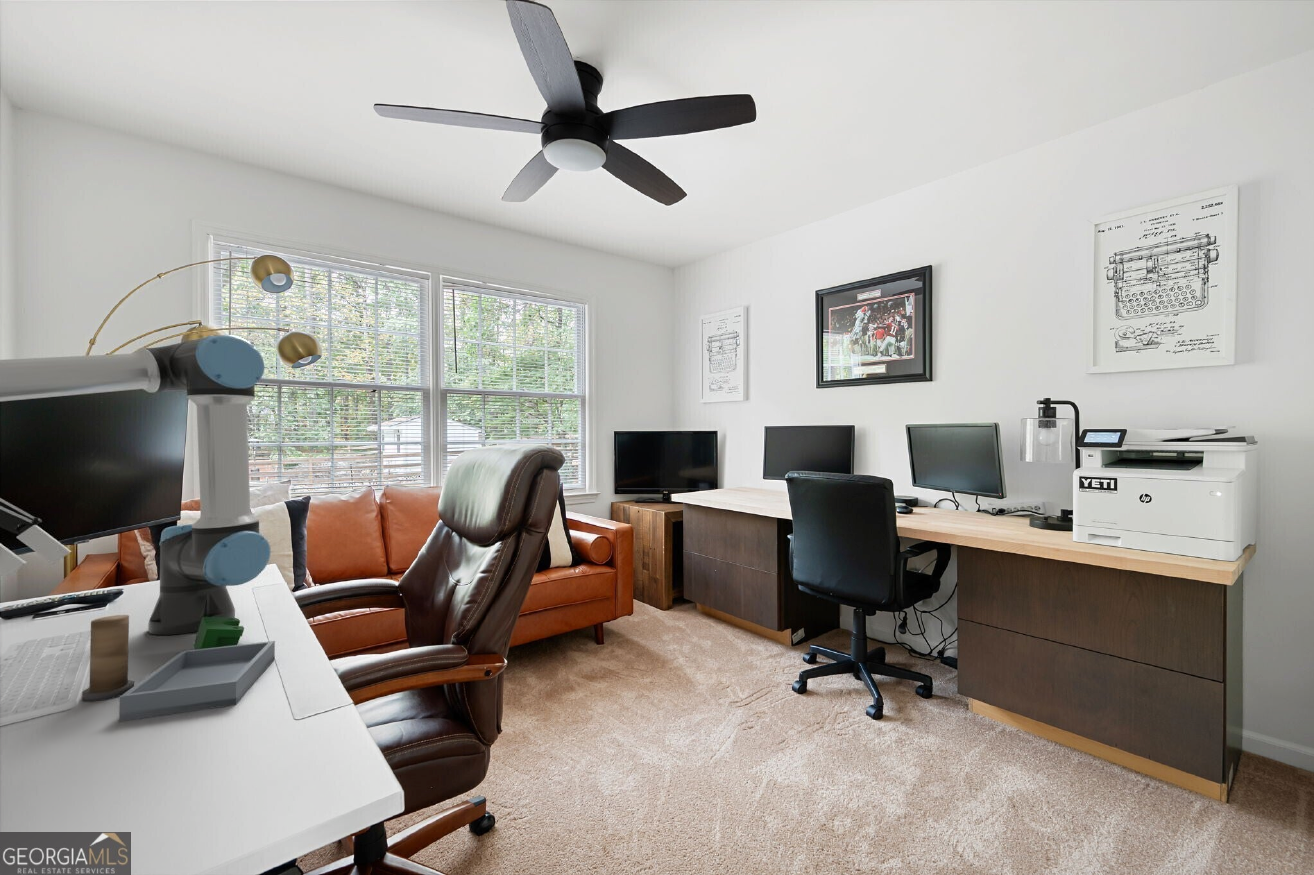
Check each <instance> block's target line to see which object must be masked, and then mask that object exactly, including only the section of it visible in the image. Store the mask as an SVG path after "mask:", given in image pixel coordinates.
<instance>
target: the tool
mask: <svg viewBox="0 0 1314 875" xmlns="http://www.w3.org/2000/svg"><path fill="white" fill-rule="evenodd" d="M129 632H130V615H128V614H117V615H110V616H103V617H100V618H95V619H93V620H91V621H90V643H89V644H90V647H89V648H90V650H89V651H90V652H89V654H90V655H89V687H88V688H86V689H85V690H83V691H82V693H81V700H82V701H83V702H86V703H92V702H101V701H105V700H110V699H114V698H115V699H116V698H118V697H120V696H122V695H123V694H124V693H126V692H127V691H128V690H130V689H131V688H132V687H134V686H135V680H134V679H129V641H130V640H129V638H130V637H129V634H130V633H129Z"/></svg>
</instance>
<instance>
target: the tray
mask: <svg viewBox="0 0 1314 875" xmlns="http://www.w3.org/2000/svg"><path fill="white" fill-rule="evenodd" d="M275 643H276V641H275V640H271V641H261V642H253V643H243V644H238V645H233V646H224V647H215V648H206V649H197V650H195V649H192V650H189V649H188V650H181V651H180V652H179V653H177V654H176V655H175V656H174V657H172V658H171V659H170V660H168V661H167V662H166V663H164V664H162V665H161V666H160V667H158V668H157V669H155V670H154V671H153V672H152V673H150V674H149V675H148V676H146V677H145V678H144V679H142V680H141V681H139V682H138V683H137V684H134V687H132V688H131V689H130V690H128V691H127V692H126V693H124V694H123V695H121V696H119V713H118V716H119V717H118V721H119V722H124V721H125V722H126V721H131V720H137V719H139V720H140V719H145V718H151V717H159V716H165V715H166V716H167V715H173V714H181V713H187V712H188V713H189V712H193V711H200V710H209V709H213V708H222V707H229V706H236V705H237V704H238V703H239V702H240V701H241V700H242V698H243V697H244V696H245V695H246V694H247V692H249V690H250V689H251V688H252V686H253V685H254V684H255V683H256V682H257V681H258V679H259V678H261V676H262V675H263V673H265V672H266V671H267V669H268V668H269V667H270V665H271V664H272V663H273V662H274V661H275V660H274V659H275V656H276V655H275V653H276V652H275V650H276V648H275V645H276V644H275ZM268 666H269V667H268Z"/></svg>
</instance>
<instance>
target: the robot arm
mask: <svg viewBox="0 0 1314 875" xmlns="http://www.w3.org/2000/svg"><path fill="white" fill-rule="evenodd" d="M264 373H265V362H264V358H263V356H262V354H261V352H260V350H258V349H257V347H256V346H254V345H253V344H252V343H251V342H250V341H248V340H246V339H245V338H242V337H240V336H238V335H232V334H212V335H208V336H206V337H202V338H198V339H197V338H196V339H191V340H186V341H182V342H181V341H180V342H178V343H175V344H174V343H173V344H169V345H164V346H158V347H143V348H142V347H141V348H138V349H136V351H135V352H134V353H118V354H97V355H96V354H95V355H93V354H92V355H78V356H77V355H75V356H74V355H71V356H53V357H31V358H28V357H27V358H12V359H8V358H6V359H0V402H8V401H9V402H10V401H20V400H21V401H22V400H32V399H43V398H52V397H54V398H55V397H63V396H64V397H65V396H66V397H67V396H77V395H78V396H79V395H89V394H96V393H97V394H99V393H108V392H109V393H111V392H112V393H113V392H120V391H122V392H123V391H132V390H144V391H146V392H147V393H149V394H150V393H161V392H186V398H187V399H188V400H190V401H191V402H192V403H193V404H194V405H195V406H196V423H197V424H196V426H197V450H198V451H197V453H198V454H197V455H198V478H199V480H198V482H199V508H200V509H199V510H200V516H199V518H198V519H197V520H196V521H195V522H194V523H190V524H182V525H173V526H169V527H166V528H164V529H163V530H162V531H161V534H160V541H159V596H158V598H157V600H156V602H155V605H154V608H153V610H152V612H151V615H150V618H149V620H148V625H147V626H148V628H147V629H148V631H147V632H148V633H149V634H150V635H158V636H167V635H168V636H171V635H181V634H187V633H188V634H189V633H195V632H198V630H199V626H200V623H201V620H202V617H226V618H236V608H235V606H234V604H233V601H232V598H231V596H230V594H229V590H228V588H227V587H228V586H229V587H232V586H234V587H235V586H241V585H243V584H246V583H250V582H252V581H253V580H254V579H256V578H257V577H259V575H260V574H261V573H262V572H263V571H264V570H265V568H267V565H268V563H269V561H270V558H271V550H272V549H271V546H270V542H269V540H268V539H267V538H266V537H264V535H262V534H261V533H260V519H259V518H258V517H257V516H255V515H254V514H252V512H251V499H250V497H251V494H250V493H251V492H250V466H249V464H250V463H249V438H248V437H249V436H248V411H247V410H248V409H247V408H248V405H249V404H250V403H252V402H253V401H254V400H255V398H256V393H255V392H256V390H255V387H256V386H255V385H256V384H257V383H258V382H259V381H260V380H261V379H262V377H263V375H264ZM42 522H43V521H42V519H41V518H39V517H35V516H34V515H31V514H30V513H28V512H27V511H25V510H23V509H22V508H19V507H17V506H15V505H13V504H12V503H10V502H8V501H6V500H5V499H3V498H1V497H0V528H1V529H3V530H6V531H8V532H11V533H13V534H16V535H17V536H16V539H18V540H19V541H20V542H21V543H23V544H25V545H26V546H27V547H29V548H30V549H31V550H33V551H34V552H35V553H37V554H38V555H39V556H41V557H42V558H44V559H45V560H46V561H48V562H49V563H50V564H51V565H54V564H56V563H58V562H59V561H61V560H62V559H64V557H66V556H67V555H69V554H70V553H71V552H72V550H70V548H68V547H66V546H65V545H64V544H62V543H61V541H58V540H57V539H56V538H54V536H52V535H50V534H49V533H48V532H46V531H45V530H44V529H42V528H41V527H40V526H38V524H40V523H42ZM26 564H28V562H27V561H26V560H24V559H23V558H21V557H20V556H19V555H18V554H16V553H15V552H13V551H12V550H10V549H9V548H8V547H6V546H4V545H3V544H2V543H1V542H0V576H1V577H3V578H8V577H9V576H11V575H12V574H14V573H15V572H16V571H18V570H19V569H21V568H22V567H23V566H25V565H26Z"/></svg>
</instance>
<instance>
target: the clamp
mask: <svg viewBox="0 0 1314 875" xmlns="http://www.w3.org/2000/svg"><path fill="white" fill-rule="evenodd" d="M240 623H241V620H240V618H238V617H237V618H236V617H235V618H226V617H202V620H201V623H200V626H199V630H198V631H197V633H196V636H195V639H194V643H193V650H197V649H206V648H215V647H224V646H233V645H239V641H240V638H242V636H243V633H244V630H245V627H244V626H243V625H240Z"/></svg>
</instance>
